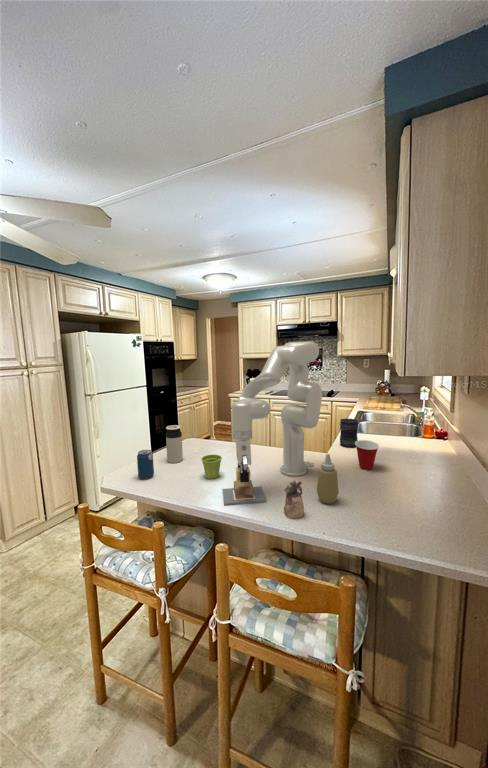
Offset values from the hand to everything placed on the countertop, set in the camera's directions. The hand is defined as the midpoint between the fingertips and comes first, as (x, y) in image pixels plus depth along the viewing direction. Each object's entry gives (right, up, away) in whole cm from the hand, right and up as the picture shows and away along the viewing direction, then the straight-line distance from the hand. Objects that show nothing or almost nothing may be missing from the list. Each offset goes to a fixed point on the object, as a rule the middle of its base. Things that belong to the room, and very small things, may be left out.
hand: (243, 476), depth 120 cm
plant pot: (-14, -6, +20) cm, 26 cm away
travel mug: (-36, -4, +41) cm, 54 cm away
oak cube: (0, -3, 0) cm, 3 cm away
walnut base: (0, -7, +1) cm, 7 cm away
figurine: (+18, -10, -12) cm, 23 cm away
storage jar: (+61, 0, +60) cm, 86 cm away
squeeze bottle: (+32, -8, -3) cm, 33 cm away
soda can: (-44, -7, +21) cm, 50 cm away
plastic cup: (+59, -4, +27) cm, 64 cm away
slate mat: (0, -8, +1) cm, 8 cm away
